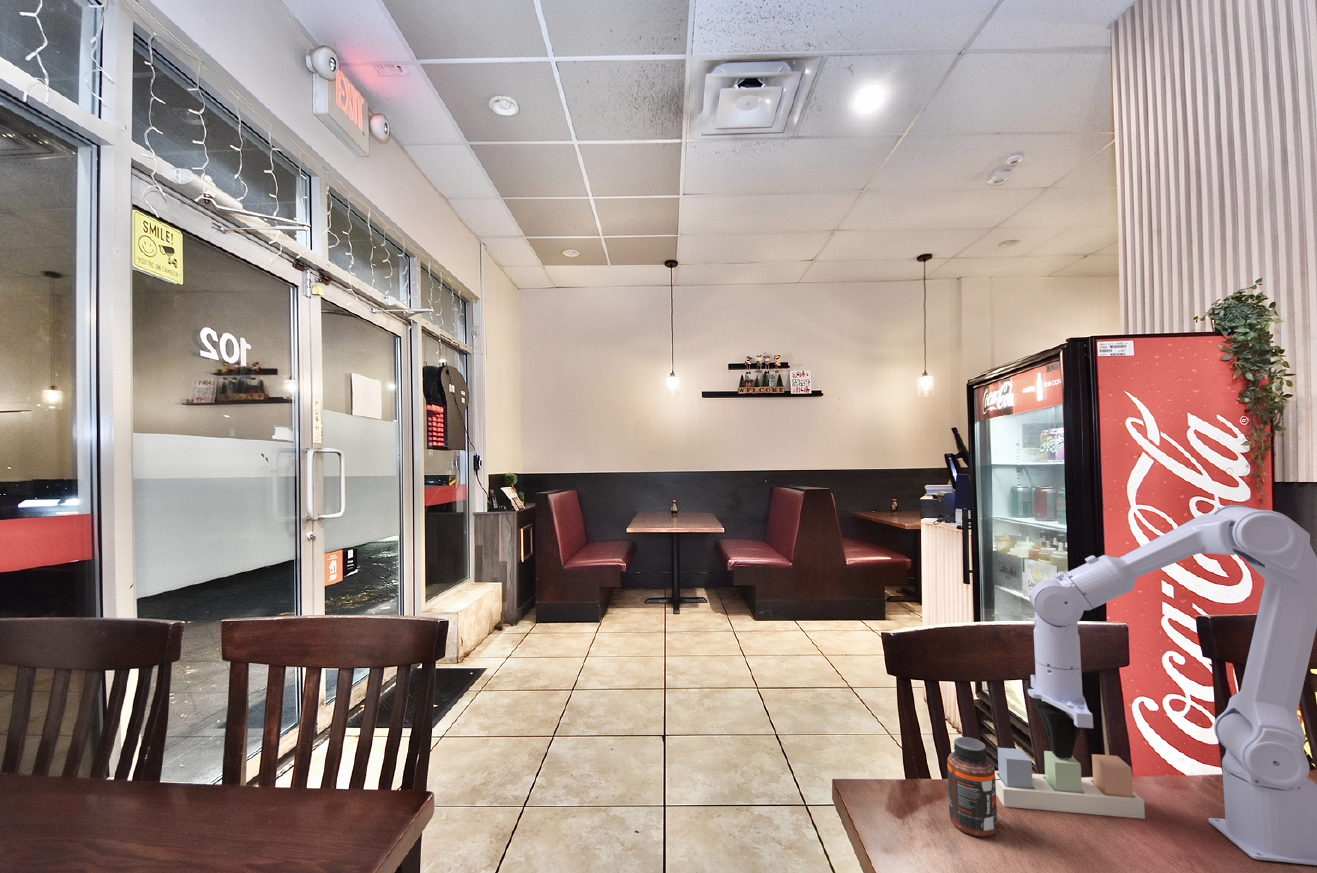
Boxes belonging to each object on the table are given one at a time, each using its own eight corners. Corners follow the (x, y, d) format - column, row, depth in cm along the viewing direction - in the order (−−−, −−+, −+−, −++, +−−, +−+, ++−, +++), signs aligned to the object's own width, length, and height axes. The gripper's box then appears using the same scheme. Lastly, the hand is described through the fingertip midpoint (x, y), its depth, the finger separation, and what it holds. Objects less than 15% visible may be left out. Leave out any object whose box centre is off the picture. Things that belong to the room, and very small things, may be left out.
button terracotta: (1119, 786, 86) (1117, 756, 86) (1133, 800, 83) (1131, 767, 83) (1093, 784, 87) (1091, 754, 87) (1106, 797, 83) (1104, 766, 84)
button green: (1070, 782, 87) (1068, 752, 88) (1082, 795, 84) (1080, 764, 84) (1045, 781, 88) (1044, 750, 88) (1056, 793, 85) (1054, 762, 85)
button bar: (1122, 797, 87) (1122, 780, 87) (1144, 818, 82) (1144, 800, 82) (990, 786, 90) (990, 770, 90) (1004, 806, 85) (1003, 789, 85)
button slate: (1023, 779, 89) (1021, 749, 89) (1032, 791, 85) (1031, 760, 85) (998, 777, 89) (997, 747, 89) (1007, 789, 86) (1006, 758, 86)
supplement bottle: (1004, 841, 77) (1001, 755, 78) (956, 836, 79) (953, 751, 79) (988, 814, 83) (985, 734, 84) (944, 810, 84) (941, 731, 85)
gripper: (1008, 646, 95) (1012, 730, 94) (1050, 679, 80) (1055, 779, 80) (1056, 648, 93) (1060, 734, 93) (1108, 682, 79) (1113, 784, 79)
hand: (1061, 755), depth 86 cm, fingers closed
